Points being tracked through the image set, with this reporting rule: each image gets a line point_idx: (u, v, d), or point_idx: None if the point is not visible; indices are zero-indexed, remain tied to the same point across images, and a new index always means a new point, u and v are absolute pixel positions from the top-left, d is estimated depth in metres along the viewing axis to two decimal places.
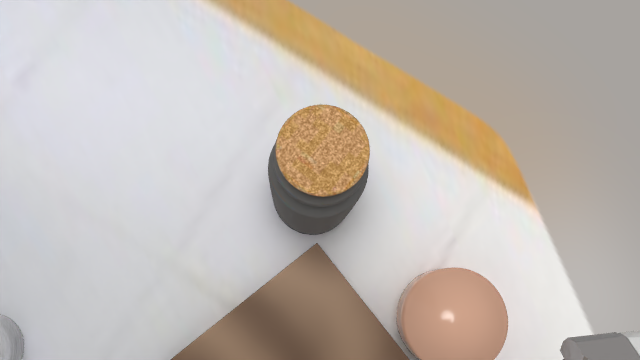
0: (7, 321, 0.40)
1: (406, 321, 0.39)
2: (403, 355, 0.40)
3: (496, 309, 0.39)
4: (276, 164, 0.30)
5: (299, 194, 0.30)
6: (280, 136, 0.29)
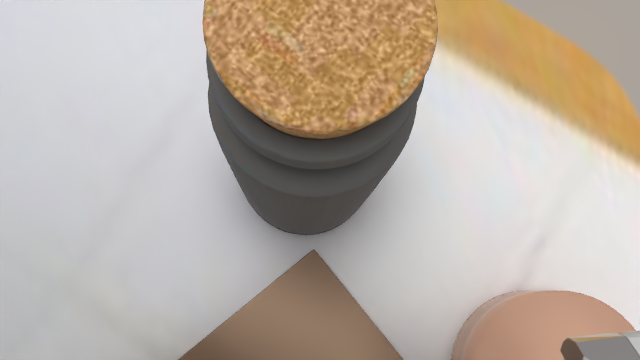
0: None
1: None
2: None
3: None
4: (214, 69, 0.13)
5: (267, 137, 0.13)
6: None
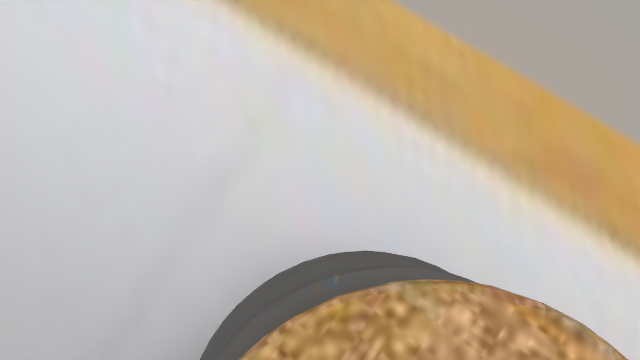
0: None
1: None
2: None
3: None
4: None
5: None
6: None
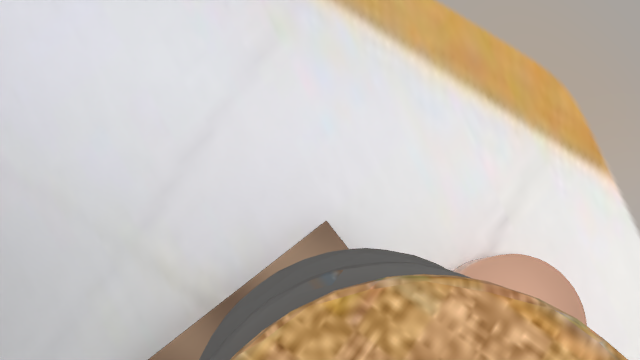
0: None
1: None
2: None
3: (570, 310, 0.29)
4: None
5: None
6: None
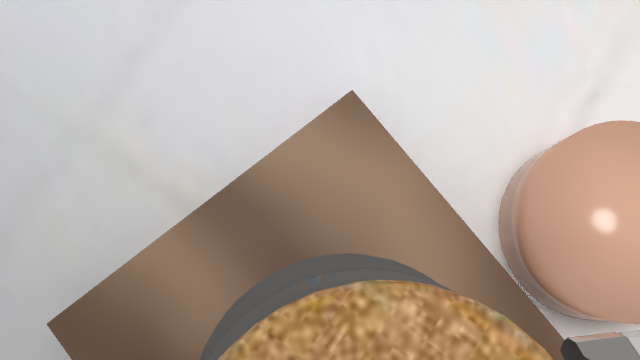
0: None
1: (535, 222, 0.20)
2: (520, 294, 0.21)
3: None
4: None
5: None
6: None
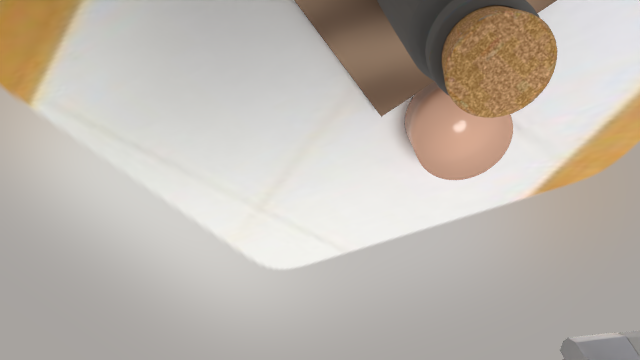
0: None
1: None
2: (429, 82, 0.40)
3: (466, 171, 0.42)
4: None
5: (447, 25, 0.24)
6: (529, 17, 0.23)
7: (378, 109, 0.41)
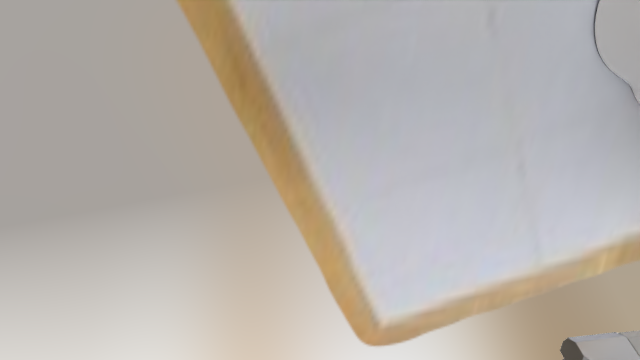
0: None
1: None
2: None
3: None
4: None
5: None
6: None
7: None
